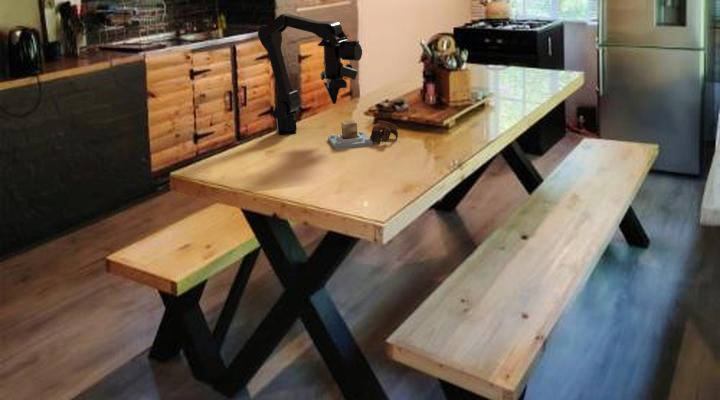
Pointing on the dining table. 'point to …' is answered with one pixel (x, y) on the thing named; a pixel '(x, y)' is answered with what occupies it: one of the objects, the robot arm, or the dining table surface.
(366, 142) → the board
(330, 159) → the dining table surface
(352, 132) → the block
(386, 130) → the pottery mug
